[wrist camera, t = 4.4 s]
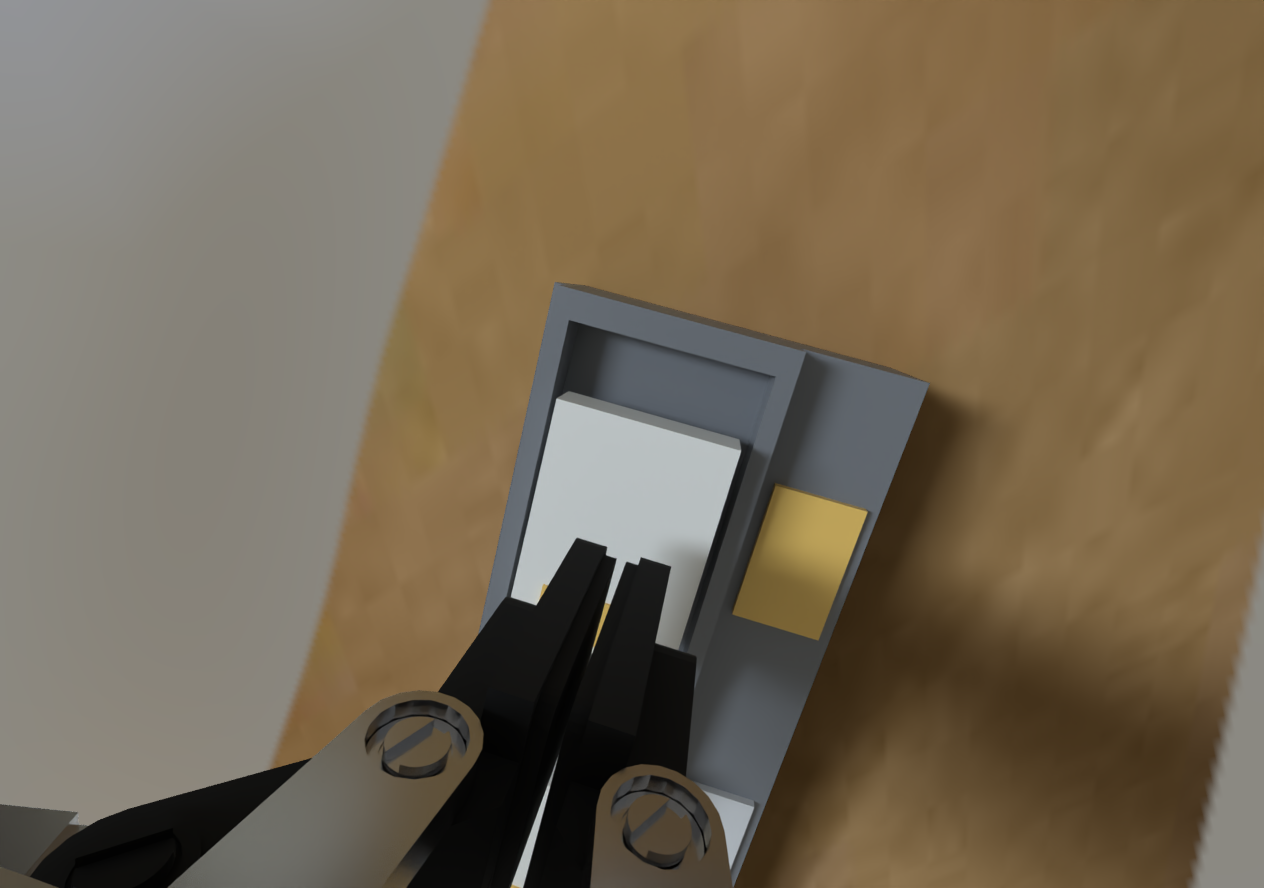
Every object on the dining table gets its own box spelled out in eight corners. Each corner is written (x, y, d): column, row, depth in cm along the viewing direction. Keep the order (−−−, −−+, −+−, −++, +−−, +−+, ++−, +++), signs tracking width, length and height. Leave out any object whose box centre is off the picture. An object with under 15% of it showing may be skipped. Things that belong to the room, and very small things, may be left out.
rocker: (568, 391, 13) (555, 398, 12) (739, 439, 12) (741, 451, 11) (519, 603, 14) (503, 627, 13) (672, 650, 14) (669, 679, 12)
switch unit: (584, 285, 16) (541, 280, 12) (889, 367, 15) (947, 389, 11) (426, 973, 22) (365, 1114, 18) (637, 1048, 22) (620, 1211, 18)
